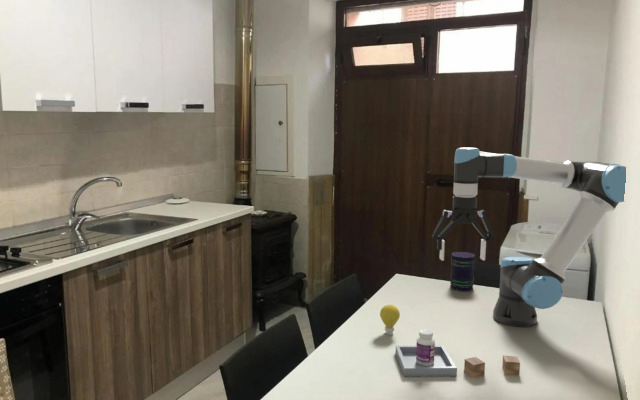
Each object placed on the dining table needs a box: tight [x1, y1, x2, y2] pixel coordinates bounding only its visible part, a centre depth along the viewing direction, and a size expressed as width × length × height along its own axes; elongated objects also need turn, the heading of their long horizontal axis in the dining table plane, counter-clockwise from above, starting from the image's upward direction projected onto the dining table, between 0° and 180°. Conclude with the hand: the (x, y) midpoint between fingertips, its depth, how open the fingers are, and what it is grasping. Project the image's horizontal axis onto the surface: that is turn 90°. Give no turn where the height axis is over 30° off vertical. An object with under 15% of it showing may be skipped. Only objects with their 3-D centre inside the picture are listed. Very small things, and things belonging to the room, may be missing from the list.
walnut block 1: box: [463, 356, 486, 379], centre depth 149 cm, size 4×4×4 cm
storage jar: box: [449, 251, 476, 292], centre depth 225 cm, size 10×10×15 cm
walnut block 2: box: [501, 354, 521, 376], centre depth 150 cm, size 4×4×4 cm
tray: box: [395, 344, 458, 378], centre depth 155 cm, size 15×15×2 cm
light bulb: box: [379, 304, 401, 335], centre depth 177 cm, size 7×7×10 cm
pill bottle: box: [416, 328, 436, 366], centre depth 154 cm, size 5×5×10 cm
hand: (462, 259), depth 171 cm, fingers open, 13 cm apart
